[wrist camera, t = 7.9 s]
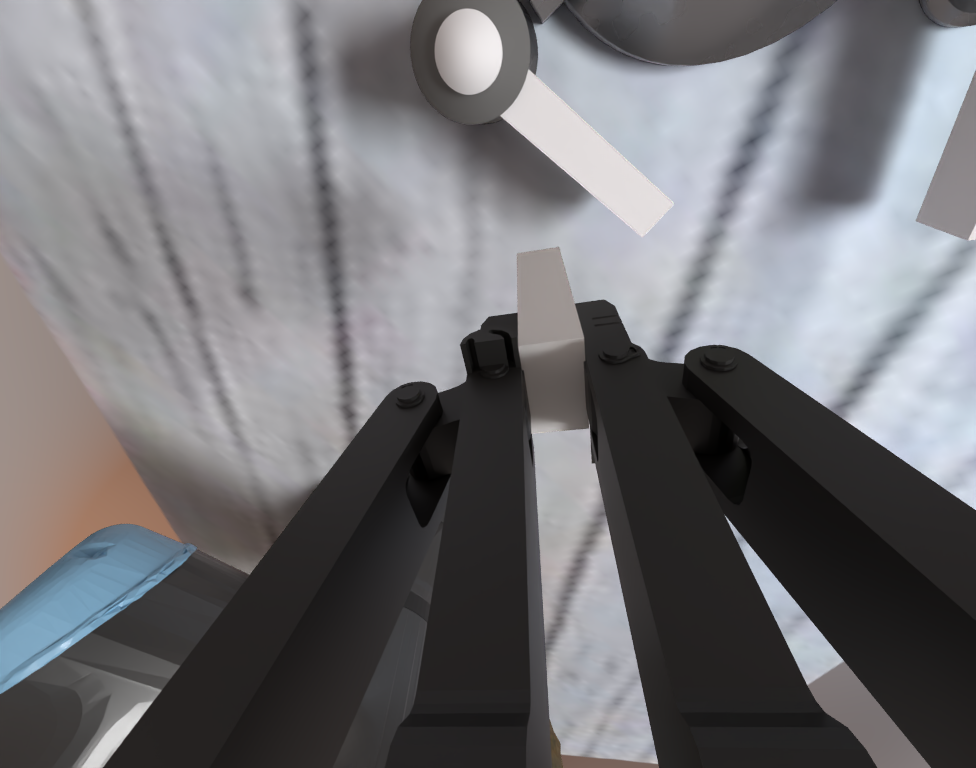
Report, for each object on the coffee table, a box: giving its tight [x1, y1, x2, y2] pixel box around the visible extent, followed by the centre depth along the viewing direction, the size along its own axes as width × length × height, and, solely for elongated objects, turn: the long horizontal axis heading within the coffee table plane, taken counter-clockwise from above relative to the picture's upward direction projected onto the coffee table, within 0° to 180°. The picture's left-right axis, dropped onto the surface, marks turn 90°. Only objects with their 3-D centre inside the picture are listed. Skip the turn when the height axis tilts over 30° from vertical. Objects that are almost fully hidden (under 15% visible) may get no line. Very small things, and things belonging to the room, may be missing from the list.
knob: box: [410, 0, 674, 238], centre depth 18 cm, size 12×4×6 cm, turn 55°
